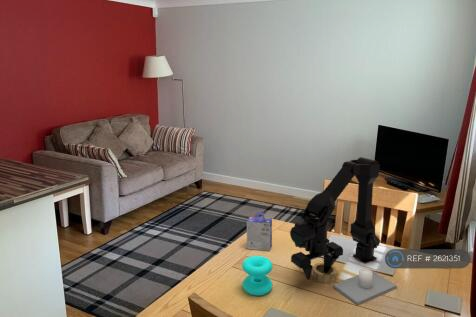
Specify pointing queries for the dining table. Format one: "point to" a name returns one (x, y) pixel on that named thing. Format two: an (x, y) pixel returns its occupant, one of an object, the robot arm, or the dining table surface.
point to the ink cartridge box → (259, 233)
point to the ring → (321, 276)
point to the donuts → (257, 275)
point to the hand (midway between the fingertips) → (316, 276)
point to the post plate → (364, 293)
